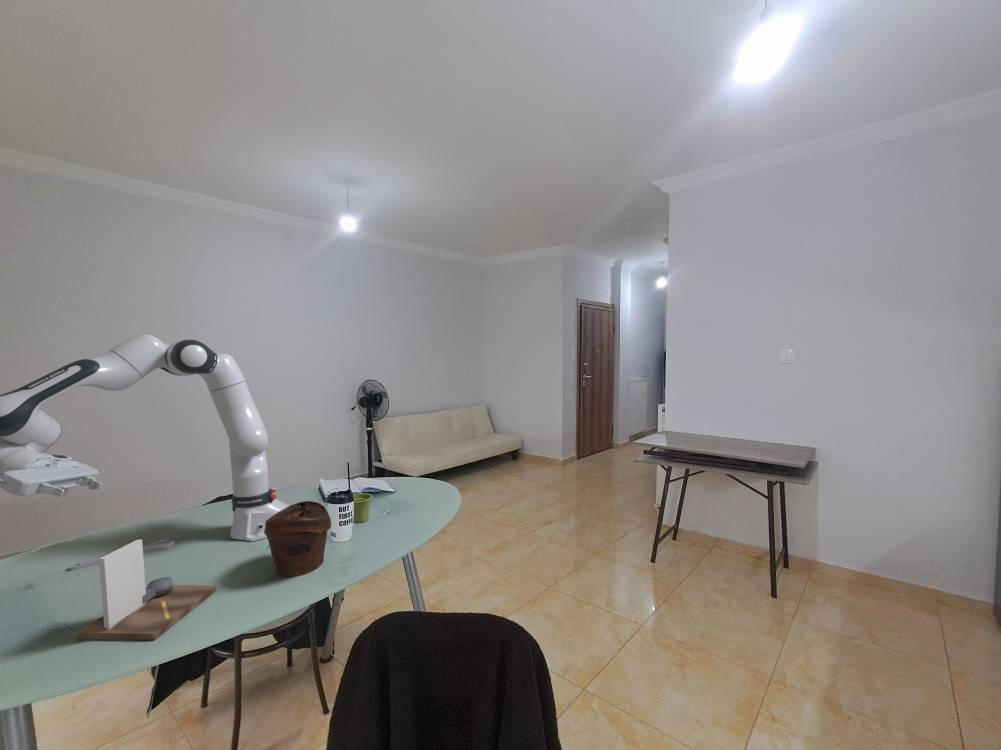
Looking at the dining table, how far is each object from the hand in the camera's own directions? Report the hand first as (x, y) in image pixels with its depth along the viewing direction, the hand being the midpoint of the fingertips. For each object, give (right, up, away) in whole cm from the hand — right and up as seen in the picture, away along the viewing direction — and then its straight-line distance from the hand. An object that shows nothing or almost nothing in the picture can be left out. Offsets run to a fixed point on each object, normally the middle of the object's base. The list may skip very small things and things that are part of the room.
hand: (82, 490), depth 112 cm
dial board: (+20, -30, -3) cm, 36 cm away
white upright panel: (+17, -28, -3) cm, 32 cm away
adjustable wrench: (-13, -29, +29) cm, 43 cm away
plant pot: (+53, -25, +55) cm, 80 cm away
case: (+45, -28, +21) cm, 57 cm away
